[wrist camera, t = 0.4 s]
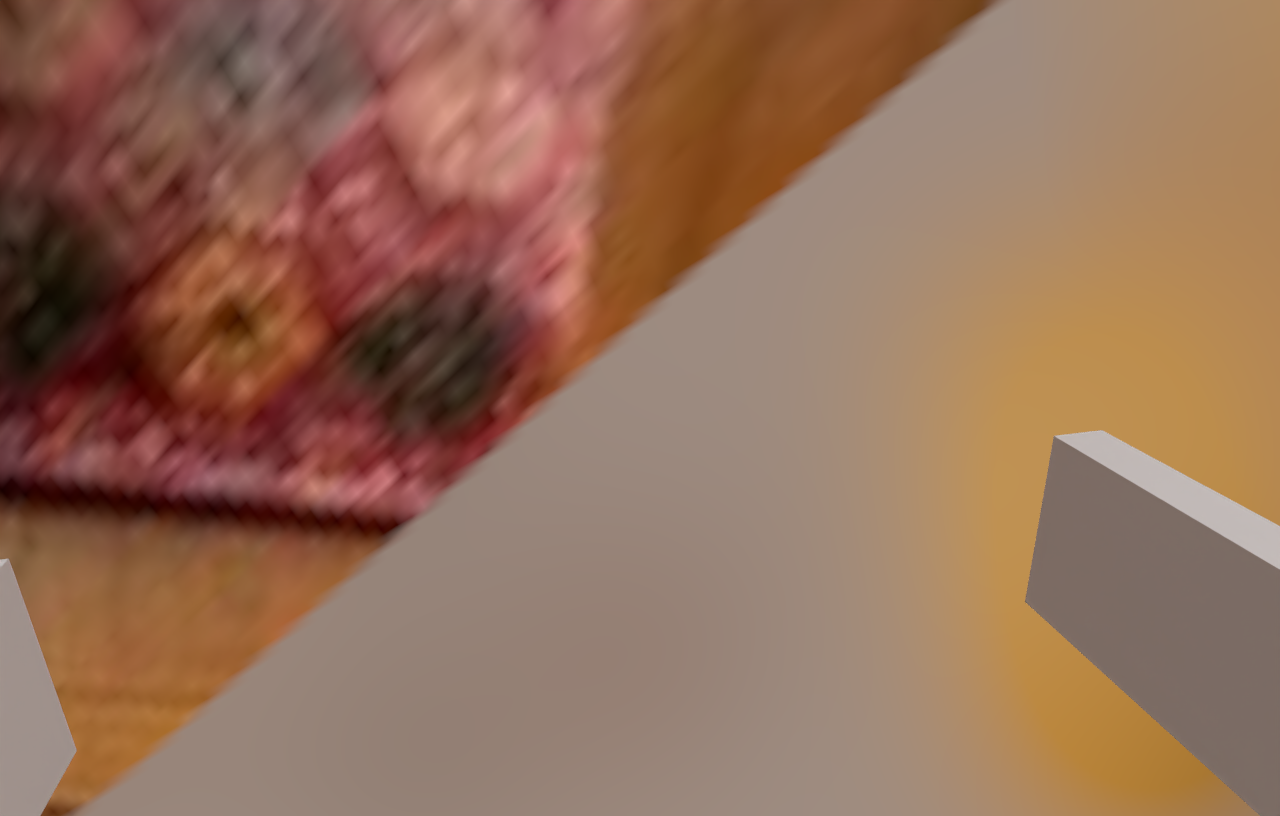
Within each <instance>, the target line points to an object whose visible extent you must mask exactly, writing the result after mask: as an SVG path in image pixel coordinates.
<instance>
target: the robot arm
mask: <svg viewBox="0 0 1280 816" xmlns="http://www.w3.org/2000/svg"><path fill="white" fill-rule="evenodd" d="M1025 602H1026V603H1027V604H1028V605H1030V607H1031V608H1033V609H1034V610H1035V611H1036V612H1037V613H1038V614H1039V615H1040V616H1042V617H1043V618H1044V619H1045V620H1046V621H1047V622H1048V623H1049V624H1050V625H1051V626H1052V627H1053V628H1055V629H1056V630H1057V631H1058V632H1059V633H1060V634H1061V635H1062V636H1063V637H1065V638H1066V639H1067V640H1068V641H1069V642H1070V643H1071V644H1072V645H1073V646H1074V647H1075V648H1077V649H1078V650H1079V651H1080V652H1081V653H1082V654H1083V655H1084V656H1086V658H1088V659H1089V660H1090V661H1091V662H1092V663H1093V664H1094V665H1095V666H1097V668H1098V669H1100V670H1101V671H1102V672H1103V673H1104V674H1105V675H1106V676H1107V677H1108V678H1110V679H1111V680H1112V681H1113V682H1114V683H1115V684H1116V685H1117V686H1118V687H1119V688H1120V689H1122V690H1123V691H1124V692H1125V693H1126V694H1127V695H1128V696H1129V697H1130V698H1131V699H1133V700H1134V701H1135V702H1136V703H1137V704H1138V705H1139V706H1140V707H1141V708H1142V709H1144V710H1145V711H1146V712H1147V713H1148V714H1149V715H1150V716H1151V717H1152V718H1153V719H1155V720H1156V721H1157V722H1158V723H1159V724H1160V725H1161V726H1162V727H1163V728H1164V729H1166V730H1167V731H1168V732H1169V733H1170V734H1171V735H1172V736H1174V738H1175V739H1176V740H1178V741H1179V742H1180V743H1181V744H1182V745H1183V746H1184V747H1185V748H1186V749H1187V750H1189V751H1190V752H1191V753H1192V754H1193V755H1194V756H1195V757H1196V758H1197V759H1199V760H1200V761H1201V762H1202V763H1203V764H1204V765H1205V766H1206V767H1207V768H1208V769H1210V770H1211V771H1212V772H1213V773H1214V774H1215V775H1216V776H1217V777H1218V778H1219V779H1220V780H1222V781H1223V782H1224V783H1225V784H1226V785H1227V786H1228V787H1229V788H1230V789H1231V790H1232V791H1234V792H1235V793H1236V794H1237V795H1238V796H1239V797H1240V798H1241V799H1242V800H1243V801H1245V802H1246V803H1247V804H1248V805H1249V806H1250V807H1251V808H1252V809H1253V810H1255V811H1256V812H1257V813H1258V814H1259V815H1260V816H1280V526H1278V525H1277V524H1275V523H1273V522H1271V521H1269V520H1267V519H1265V518H1263V517H1261V516H1260V515H1258V514H1256V513H1254V512H1252V511H1250V510H1249V509H1247V508H1245V507H1243V506H1241V505H1239V504H1238V503H1236V502H1234V501H1232V500H1230V499H1228V498H1226V497H1225V496H1223V495H1221V494H1219V493H1217V492H1215V491H1213V490H1212V489H1210V488H1208V487H1206V486H1204V485H1202V484H1201V483H1199V482H1197V481H1195V480H1193V479H1191V478H1189V477H1187V476H1186V475H1184V474H1182V473H1180V472H1178V471H1176V470H1175V469H1173V468H1171V467H1169V466H1167V465H1165V464H1163V463H1162V462H1160V461H1158V460H1156V459H1154V458H1152V457H1150V456H1149V455H1147V454H1145V453H1143V452H1141V451H1139V450H1137V449H1136V448H1134V447H1132V446H1130V445H1128V444H1126V443H1125V442H1123V441H1121V440H1119V439H1117V438H1115V437H1113V436H1111V435H1110V434H1108V433H1106V432H1104V431H1102V430H1101V431H1093V432H1084V433H1075V434H1067V435H1058V436H1054V439H1053V445H1052V451H1051V456H1050V462H1049V468H1048V474H1047V479H1046V485H1045V491H1044V497H1043V502H1042V508H1041V514H1040V519H1039V526H1038V531H1037V536H1036V542H1035V548H1034V554H1033V560H1032V565H1031V571H1030V577H1029V582H1028V588H1027V594H1026V600H1025ZM76 751H77V750H76V747H75V744H74V742H73V739H72V736H71V733H70V730H69V727H68V725H67V722H66V719H65V716H64V713H63V711H62V708H61V705H60V702H59V699H58V696H57V694H56V691H55V688H54V685H53V682H52V679H51V677H50V674H49V671H48V668H47V665H46V662H45V660H44V657H43V654H42V651H41V648H40V645H39V643H38V640H37V637H36V634H35V631H34V628H33V626H32V623H31V620H30V617H29V614H28V612H27V609H26V606H25V603H24V600H23V597H22V595H21V592H20V589H19V586H18V583H17V580H16V578H15V575H14V572H13V569H12V566H11V563H10V561H9V559H2V560H0V816H40V815H41V813H42V812H43V810H44V808H45V806H46V805H47V803H48V801H49V799H50V797H51V796H52V794H53V792H54V790H55V788H56V787H57V785H58V783H59V781H60V779H61V778H62V776H63V774H64V772H65V771H66V769H67V767H68V765H69V763H70V762H71V760H72V758H73V756H74V754H75V753H76Z"/></svg>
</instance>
